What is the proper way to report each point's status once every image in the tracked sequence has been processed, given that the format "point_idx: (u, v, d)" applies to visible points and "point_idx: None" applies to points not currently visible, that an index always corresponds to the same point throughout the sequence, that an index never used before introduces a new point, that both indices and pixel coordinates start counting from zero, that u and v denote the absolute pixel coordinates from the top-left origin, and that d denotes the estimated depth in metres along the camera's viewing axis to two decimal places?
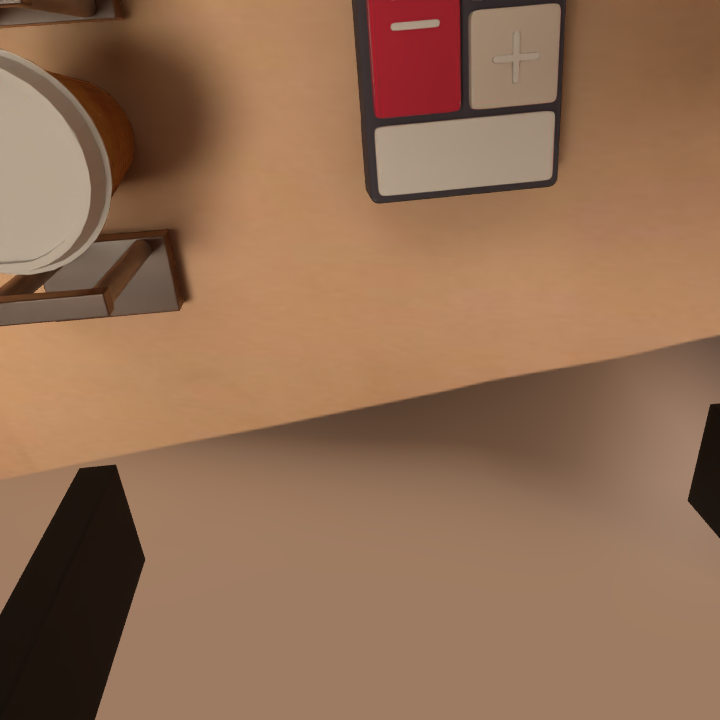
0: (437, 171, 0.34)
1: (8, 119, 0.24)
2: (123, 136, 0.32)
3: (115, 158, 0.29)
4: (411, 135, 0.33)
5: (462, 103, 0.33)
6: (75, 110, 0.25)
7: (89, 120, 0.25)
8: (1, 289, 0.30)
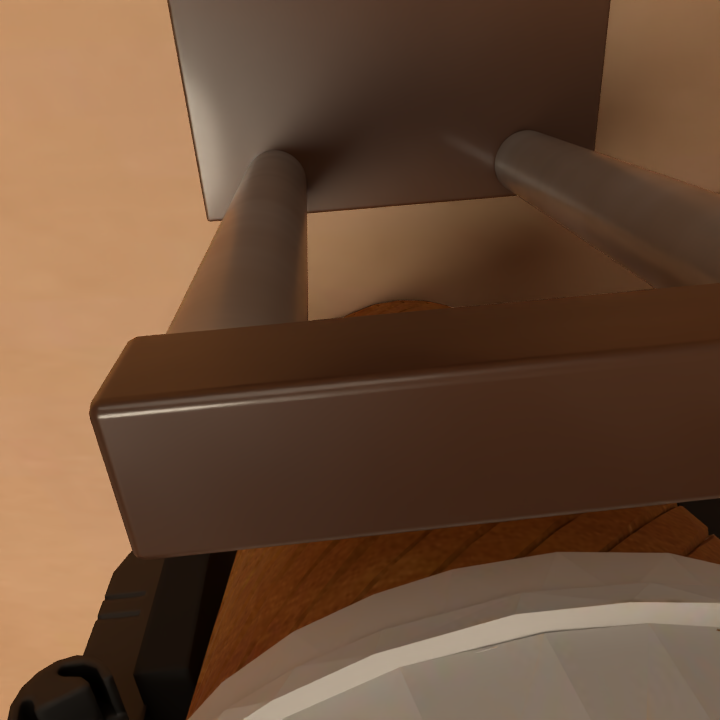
0: None
1: None
2: None
3: None
4: None
5: None
6: None
7: None
8: None
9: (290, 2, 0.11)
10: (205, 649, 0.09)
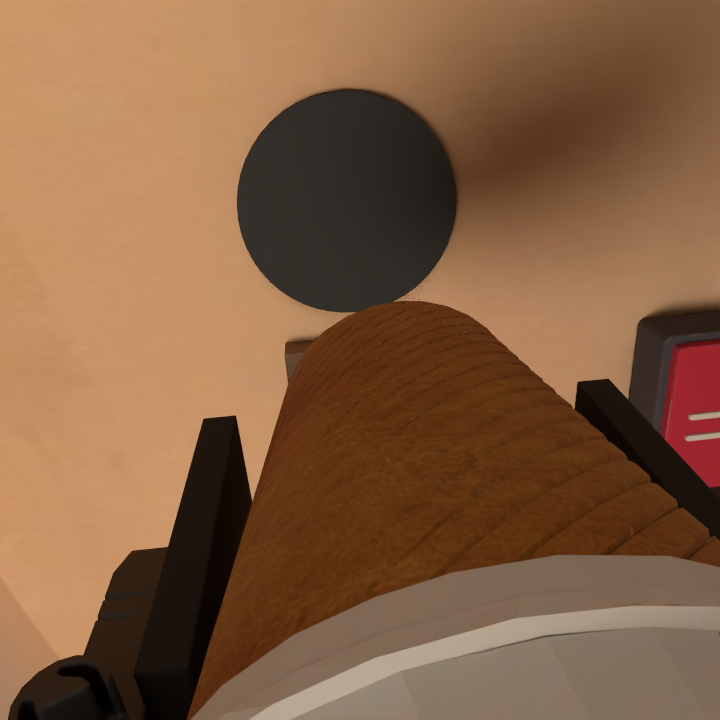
0: None
1: None
2: None
3: None
4: None
5: None
6: None
7: None
8: None
9: None
10: (205, 649, 0.09)
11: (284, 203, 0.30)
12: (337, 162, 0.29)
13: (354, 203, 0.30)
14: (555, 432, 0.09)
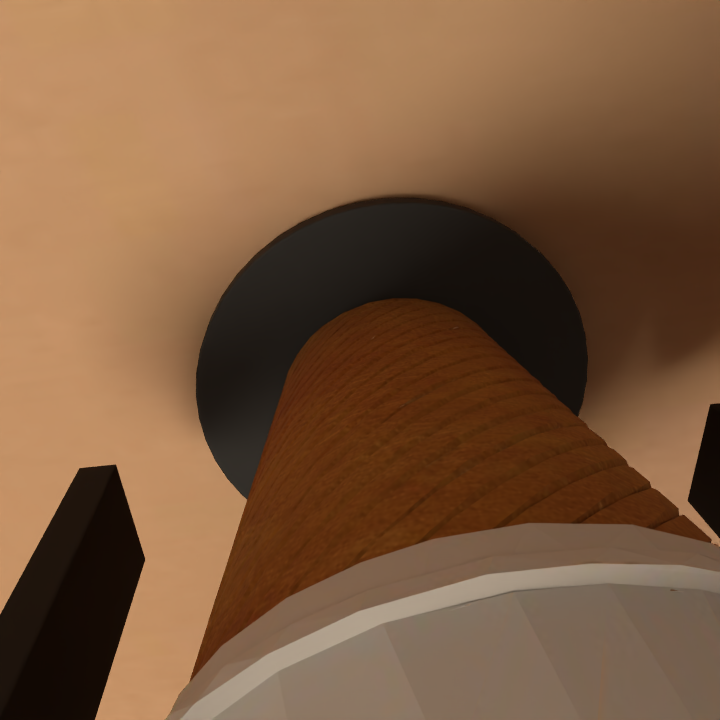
0: None
1: None
2: None
3: None
4: None
5: None
6: None
7: None
8: None
9: None
10: None
11: (281, 392, 0.17)
12: None
13: None
14: (537, 418, 0.09)
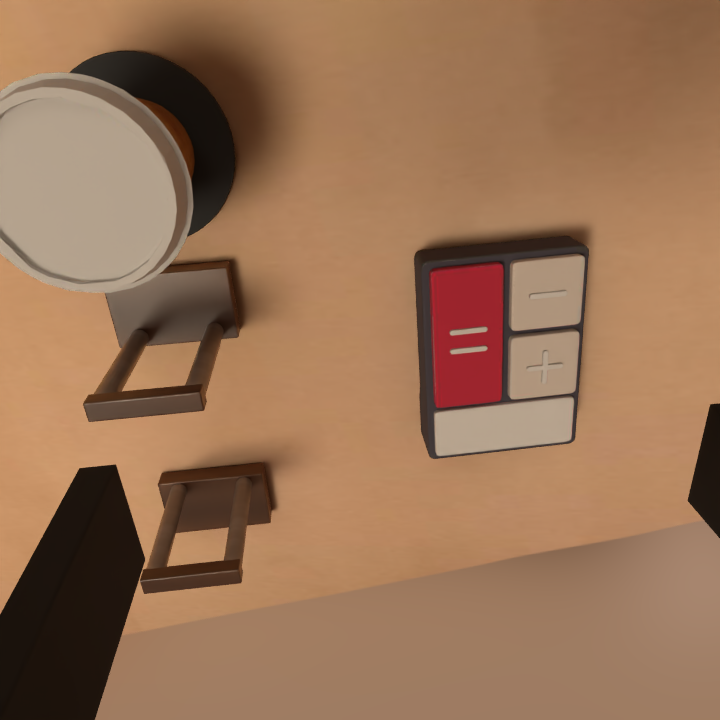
0: (482, 439, 0.44)
1: (101, 145, 0.25)
2: (190, 155, 0.33)
3: None
4: (463, 416, 0.43)
5: (502, 393, 0.43)
6: (163, 135, 0.26)
7: (175, 145, 0.26)
8: (156, 556, 0.40)
9: (139, 293, 0.39)
10: None
11: None
12: None
13: None
14: None
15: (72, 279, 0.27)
